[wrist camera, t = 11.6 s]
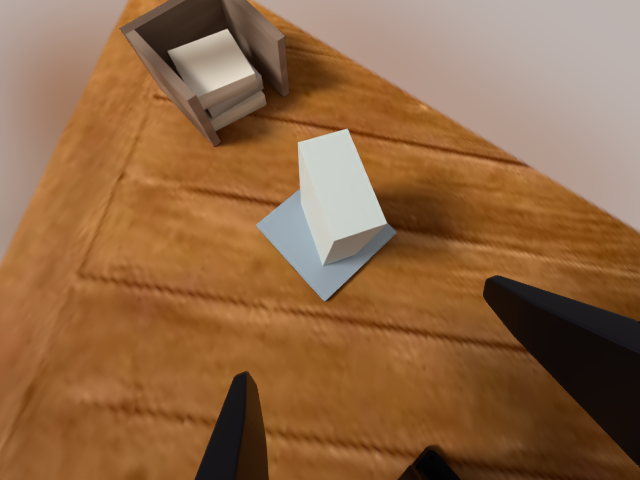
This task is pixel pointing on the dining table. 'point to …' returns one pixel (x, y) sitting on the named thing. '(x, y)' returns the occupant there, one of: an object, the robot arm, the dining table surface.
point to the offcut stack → (220, 78)
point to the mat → (314, 247)
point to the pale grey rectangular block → (337, 196)
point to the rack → (196, 23)
